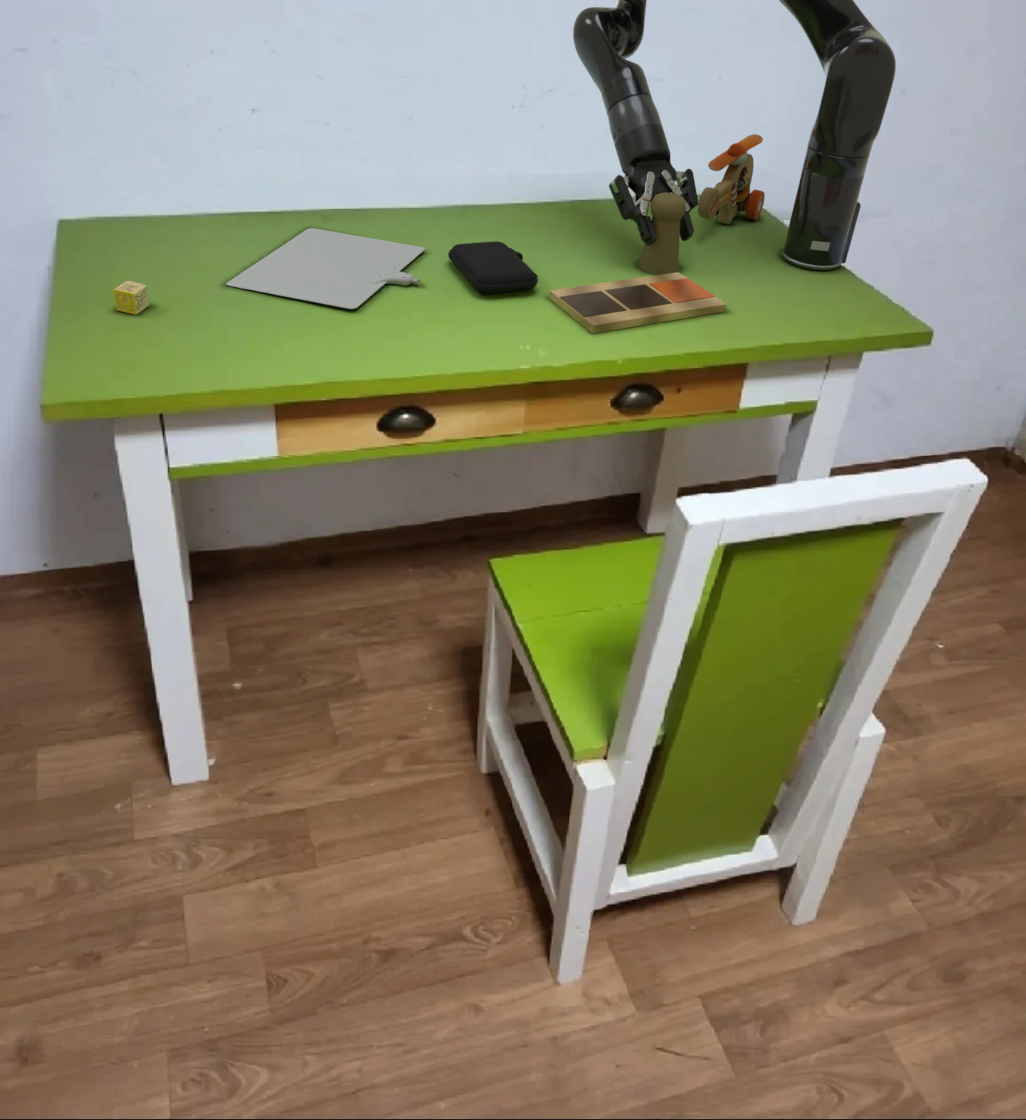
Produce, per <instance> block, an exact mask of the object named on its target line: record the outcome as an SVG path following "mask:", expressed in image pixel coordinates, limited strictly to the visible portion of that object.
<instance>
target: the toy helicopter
mask: <svg viewBox="0 0 1026 1120" xmlns="http://www.w3.org/2000/svg"><path fill="white" fill-rule="evenodd" d="M763 140H764V138H763V136H761V135H760V134H749V135H747V136H745V137H744V138H742V139H741V140H739V141H738V142H734V143H732V144H731V145H730V146H728V147H729V148H727V149H726V150H725V151H724V152H722V153H720V154H719V155H717V156H716V157H715V158H712V160H710V161H709V162H708V163H707V167H708V168H709V169H710V170H711V171H712V172H713V171H714V172H720V171H722V170H724V169H725V168H726V170H725V172H724V175H723V177H722V179H721V181H719V182H717V183H716V184H715V185H714V187H709V186H707V187H705V188H704V189H702V192H701V194H700V196H699V199H698V205H697V213H698V216H699V217H700V218H702V219H706V220H712V219H713V218H714V217H715V215H716V214H717V212H718V215H717V222H718V223H719V224H724V225H730V224H731V223H732V220H733V219H734V217H736V216H738V215H739V213H740V212H744V215H745V218H746V219H748V220H753V221H756V220H758V219H759V217H760V215H761V213H762V210H763V207H764V203H765V197H766V196H765V191H763V190H759V189H753V190H752V191H751V186H752V185H751V184H752V180H753V174H754V167H755V166H754V157H753V155H752V154H751V153H748V151H749V150H751V149H753V148H755V147H756V146H758V145H761V144H762V143H763Z"/></svg>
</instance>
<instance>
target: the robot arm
mask: <svg viewBox="0 0 1026 1120" xmlns="http://www.w3.org/2000/svg"><path fill="white" fill-rule="evenodd" d="M647 1H648V0H618V3H617V6H616V7H607V6H606V7H605V6H591V7H586V8H584V9H582V10H581V11H580V12H579V13H578V15H577V17H576V18H575V21H574V24H573V28H572V39H573V44H574V48H575V51H576V54H577V57H578V59H580V62H581V63H582V65H583V66H584V68H585V70H586V72H587V73H588V75H589V76H590V78H591V79H592V81H593V83H594V84H595V86H596V87H597V88H598V91H599V92H600V94H601V97H602V98H601V99H602V102H603V106H604V108H605V109H604V110H605V112H606V116H607V118H608V126H609V131H610V134H611V139H612V141H613V144H614V148H615V151H616V155H617V158H618V161H619V165H620V168H621V171H622V173H623V174H624V176H623V175H621V174H618V175H616V176H615V178H614V179H613V180H612V181H611V182H610V183H608V187H609V190H610V193H611V195H612V198H613V199H614V202H615V205H616V207H617V209H618V211H619V214H620V216H621V218H622V219H623V220H624V221H628V220H631V221H633V222H634V223H635V225H636V226H637V230H638V234H639V237H640V240H641V241H642V242H643V243H644V245H646V246H647V245H652V244H653V243H654V242H655V241H656V235H655V231H654V228H653V225H652V217H651V216H650V215H649V209H650V204H651V202H652V199H653V198H654V197H655V195H657V194H659V193H674V194H678V195H680V196H681V197H683V198H684V200H685V202H686V211H685V214H684V216H683V217H682V218H681V219H680V236H679V238H680V240H681V242H686V241H689V240H690V239H691V238H692V237H693V235H694V232H695V228H694V225H693V221H692V218H691V215H690V213H691V212H692V211H693V210H694V209H695V208H696V207H698V204H699V199H698V193H697V187H696V182H695V176H694V171H693V170H692V169H691V168H687V169H686V170H685V171H678V170H676V168H675V167H674V166H673V165H672V163H671V150H670V147H669V144H668V140H667V137H666V134H665V130H664V127H663V124H662V123H663V122H662V121H661V117H660V113H659V110H658V108H657V106H656V104H655V102H654V100H653V96H652V93H651V90H650V86H649V83H648V79H647V77H646V73H645V72H644V69H643V67H642V66H641V65H639V64H638V63H637V62H634V61H630V60H627V59H629V58H631V57H632V56H634V54H635V53H636V52H637V51H638V49H639V47H640V46H641V44H642V42H643V38H644V33H645V23H646V11H647V4H648V3H647ZM778 1H779V2H780V3H781V5H783V7H785V9H786V10H788V12H789V13H790V14H791V15H792V17H794V18H795V19H796V21H797V22H798V24H799V25H800V27H801V29H802V30H803V32H804V33H805V35H806V37H807V39H808V40H809V43H810V45H811V47H812V49H813V50H814V53H815V55H816V57H817V59H818V61H819V63H820V65H821V67H822V70H823V74H824V76H825V82H824V87H823V91H822V95H821V99H820V104H819V107H818V111H817V115H816V119H815V120H814V123H813V125H812V127H811V129H810V133H809V139H808V142H807V146H806V150H805V155H804V158H803V163H802V168H801V172H800V176H799V181H798V185H797V189H796V190H797V191H796V193H795V198H794V202H793V206H792V211H791V216H790V220H789V223H788V228H787V232H786V237H785V241H784V246H783V248H782V251H781V257H782V259H783V260H784V261H786V262H787V263H789V264H791V265H793V266H796V267H799V268H803V269H808V270H814V271H832V270H836V269H838V268H840V267H841V266H842V264H846V262H847V258H848V254H849V252H850V248H851V244H852V240H853V236H854V232H855V230H856V225H857V221H858V217H859V214H860V210H861V203H860V202H859V201H858V200H859V197H860V194H861V193H860V192H861V189H862V186H863V181H864V178H865V174H866V170H867V166H868V163H869V160H870V159H869V158H870V155H871V152H872V149H873V148H872V147H873V145H874V142H875V141H876V139H877V137H878V135H879V133H880V129H881V126H882V123H883V119H884V116H885V113H886V110H887V105H888V102H889V99H890V97H891V96H890V95H891V92H892V89H893V84H894V80H895V77H896V71H897V70H896V69H897V66H896V65H897V61H896V56H895V53H894V50H893V49H892V47H891V46H890V44H889V43H888V41H887V40H886V39H885V37H884V36H883V35H882V33H880V31H878V29H877V28H876V27H875V26H874V25H873V24H872V23H871V21H870V20H869V19H868V18H867V17H866V16H865V14H864V12H863V11H862V10H861V9H860V7H859V6H858V5H857V3H856V2H855V0H778ZM630 190H631V191H632V193H634V197H632V194H631V192H630Z"/></svg>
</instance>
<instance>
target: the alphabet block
mask: <svg viewBox="0 0 1026 1120" xmlns="http://www.w3.org/2000/svg"><path fill="white" fill-rule="evenodd" d="M113 296H114V302H115V309H116V311H119V312H123V313H125V314H126V313H127V314H132V315H135V316H136V315H138V314H140V313H141V312H143V311H144V310H145V309H146V308H148V307H149V306H150V296H149V289H148V285H147V284H144V283H141V282H135V281H131V280H126V281H124V282H123V283H121V284H120V285H118V286H117V287H115V288H114V289H113Z"/></svg>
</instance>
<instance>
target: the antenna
mask: <svg viewBox="0 0 1026 1120" xmlns="http://www.w3.org/2000/svg"><path fill="white" fill-rule="evenodd" d="M424 251H426V248H425V247H424V246H418V245H414V244H413V245H412V244H406V243H402V242H401V243H400V242H397V241H396V242H395V241H390V240H383V239H379V238H378V239H377V238H373V237H367V236H361V235H355V234H349V233H343V232H338V231H332V230H327V229H320V228H315V227H310V228H307V229H305V230H303V231H302V232H301V233H299V234H297V235H296V236H294V237H293V238H292V239H290V240H289V241H287V242H286V243H284V244H282V245H281V246H279V247H278V248H276V249H275V250H274V251H272V252H270V253H269V254H268V255H266V256H265V257H263V258H262V259H260V260H259V261H257V262H255V263H253V265H251V266H250V267H248V268H246V269H245V270H243V271H242V272H240V273H238V274H237V275H236V276H235V277H233V278H232V279H230V280H228V281H227V282H226V286H228V287H233V288H238V289H243V290H249V291H252V292H257V293H264V294H268V295H269V294H270V295H274V296H278V297H279V296H280V297H285V298H290V299H296V300H301V301H304V302H305V301H306V302H311V303H316V304H320V305H321V304H322V305H326V306H331V307H337V308H342V309H348V310H355V309H358V308H359V307H360V306H361V305H362V304H363V303H365V302H366V301H368V299H369V298H371V296H373V295H374V294H376V293H377V291H379V290H380V289H381V288H382V287H383V286H384V285H399V286H404V287H407V286H409V285H411V284H413V285H419V284H420V279H419V278H418V277H417V278H416V277H414V275H413V274H411V273H408V272H403V269H404V268H405V267H406V266H408V265H409V264H410V263H411V262H413V261H414V260H415V259H416V258H417V257H419V255H421V254H422V253H423V252H424Z"/></svg>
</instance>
